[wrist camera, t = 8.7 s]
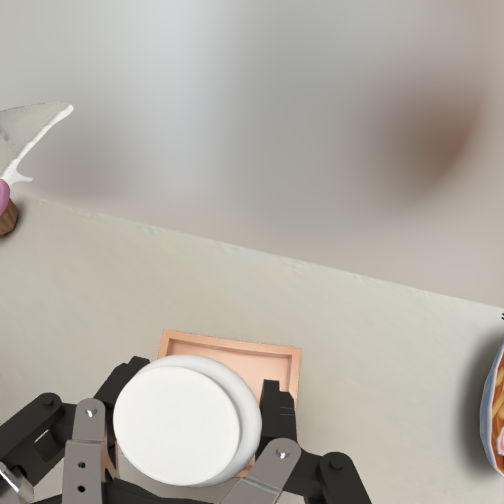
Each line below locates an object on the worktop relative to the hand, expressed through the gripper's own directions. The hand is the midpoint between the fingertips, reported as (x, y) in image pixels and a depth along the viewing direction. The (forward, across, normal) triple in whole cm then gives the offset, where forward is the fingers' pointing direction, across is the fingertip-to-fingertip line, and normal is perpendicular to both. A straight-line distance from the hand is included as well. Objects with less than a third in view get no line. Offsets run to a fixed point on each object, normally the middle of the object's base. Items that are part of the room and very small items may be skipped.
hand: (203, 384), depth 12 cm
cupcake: (+23, +42, 0) cm, 48 cm away
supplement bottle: (+2, 0, +5) cm, 5 cm away
